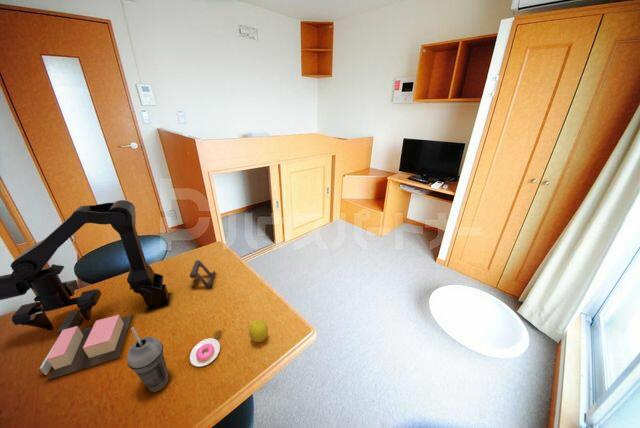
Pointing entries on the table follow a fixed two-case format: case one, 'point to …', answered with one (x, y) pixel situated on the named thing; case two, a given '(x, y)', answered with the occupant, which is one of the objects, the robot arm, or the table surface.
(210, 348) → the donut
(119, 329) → the cake
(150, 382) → the beverage cup
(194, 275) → the tablet stand
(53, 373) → the cake board
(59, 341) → the cake slice
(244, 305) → the table surface
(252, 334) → the lemon
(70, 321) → the knife
